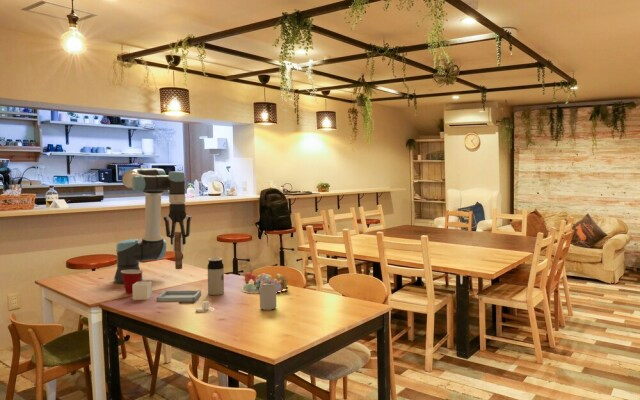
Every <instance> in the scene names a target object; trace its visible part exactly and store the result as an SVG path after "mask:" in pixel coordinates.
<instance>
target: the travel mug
mask: <svg viewBox="0 0 640 400" xmlns="http://www.w3.org/2000/svg"><path fill="white" fill-rule="evenodd" d="M207 261H208V264H207V294H208V295H211V296H220V295H224V293H225V280H224V279H225V278H224V276H225V274H224V271H225V270H224V269H225V268H224V267H225V266H224V263H223V261H224V258H222V257H210V258H208V259H207Z"/></svg>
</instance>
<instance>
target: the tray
mask: <svg viewBox="0 0 640 400" xmlns="http://www.w3.org/2000/svg"><path fill="white" fill-rule="evenodd" d="M201 296H202V290H199V289H198V290H196V289H195V290H191V289H190V290H183V289H182V290H164V291H163V292H161V293H160V294H159V295H158V296H157V297H156V302H178V304H180V303H181V304H182V303H185V304H187V303H189V304H191V303H193V304H194V303H195V302H197V300H198V299H199V298H200V297H201Z"/></svg>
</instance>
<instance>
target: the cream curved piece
mask: <svg viewBox="0 0 640 400" xmlns="http://www.w3.org/2000/svg"><path fill="white" fill-rule="evenodd" d="M209 309H210V310H209ZM212 309H213V310H212ZM205 311H206V313H209V312H210V311H211V312H213V311H215V308H214V307H211V301H208V300H204V301H201V307H197V308H195V312H198V313H204V312H205Z"/></svg>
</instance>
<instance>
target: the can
mask: <svg viewBox="0 0 640 400" xmlns="http://www.w3.org/2000/svg"><path fill="white" fill-rule="evenodd" d="M259 308H260V309H261V310H262V309H263V310H262V311H265V310H270V311H272V310H271V309H274V308H275V309H276V308H277V294H276V285H275V283H274V282H263V283H261V286H260V294H259ZM275 309H274V310H275Z"/></svg>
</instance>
